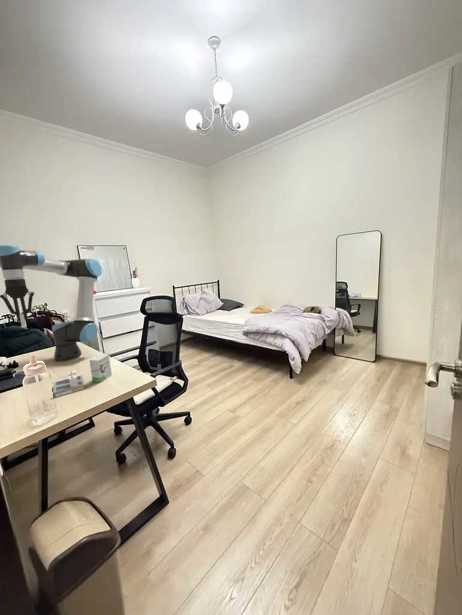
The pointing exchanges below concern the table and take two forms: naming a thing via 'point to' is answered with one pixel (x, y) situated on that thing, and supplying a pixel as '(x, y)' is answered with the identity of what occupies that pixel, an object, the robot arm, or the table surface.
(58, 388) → the switch bank
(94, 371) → the ink box
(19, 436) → the table surface
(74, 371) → the tab
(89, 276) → the robot arm
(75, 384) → the tab
